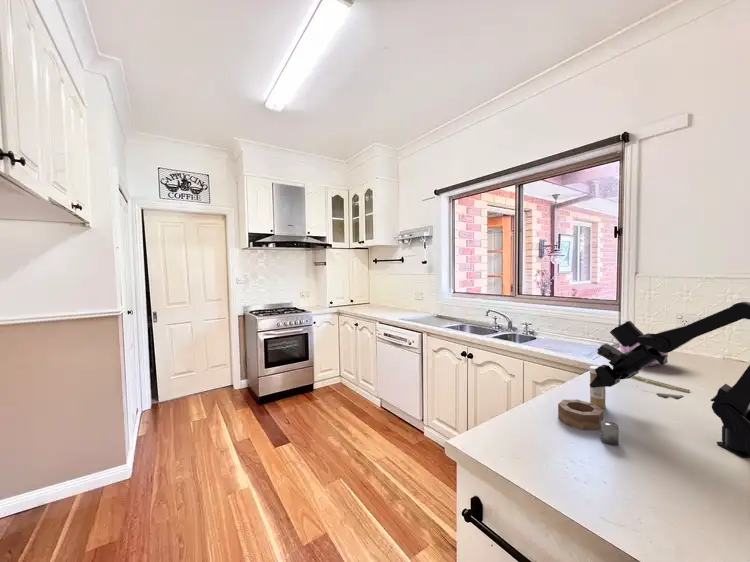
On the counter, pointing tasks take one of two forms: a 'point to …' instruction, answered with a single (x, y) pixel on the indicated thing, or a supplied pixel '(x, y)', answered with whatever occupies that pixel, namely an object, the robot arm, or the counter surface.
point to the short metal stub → (610, 433)
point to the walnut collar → (580, 414)
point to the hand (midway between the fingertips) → (597, 383)
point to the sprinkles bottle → (596, 391)
